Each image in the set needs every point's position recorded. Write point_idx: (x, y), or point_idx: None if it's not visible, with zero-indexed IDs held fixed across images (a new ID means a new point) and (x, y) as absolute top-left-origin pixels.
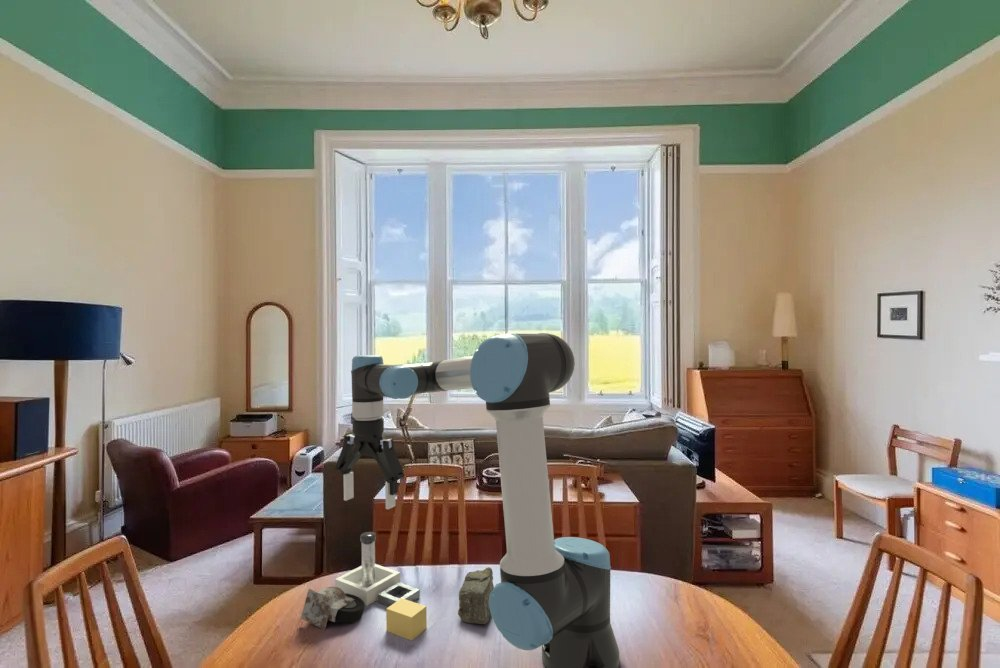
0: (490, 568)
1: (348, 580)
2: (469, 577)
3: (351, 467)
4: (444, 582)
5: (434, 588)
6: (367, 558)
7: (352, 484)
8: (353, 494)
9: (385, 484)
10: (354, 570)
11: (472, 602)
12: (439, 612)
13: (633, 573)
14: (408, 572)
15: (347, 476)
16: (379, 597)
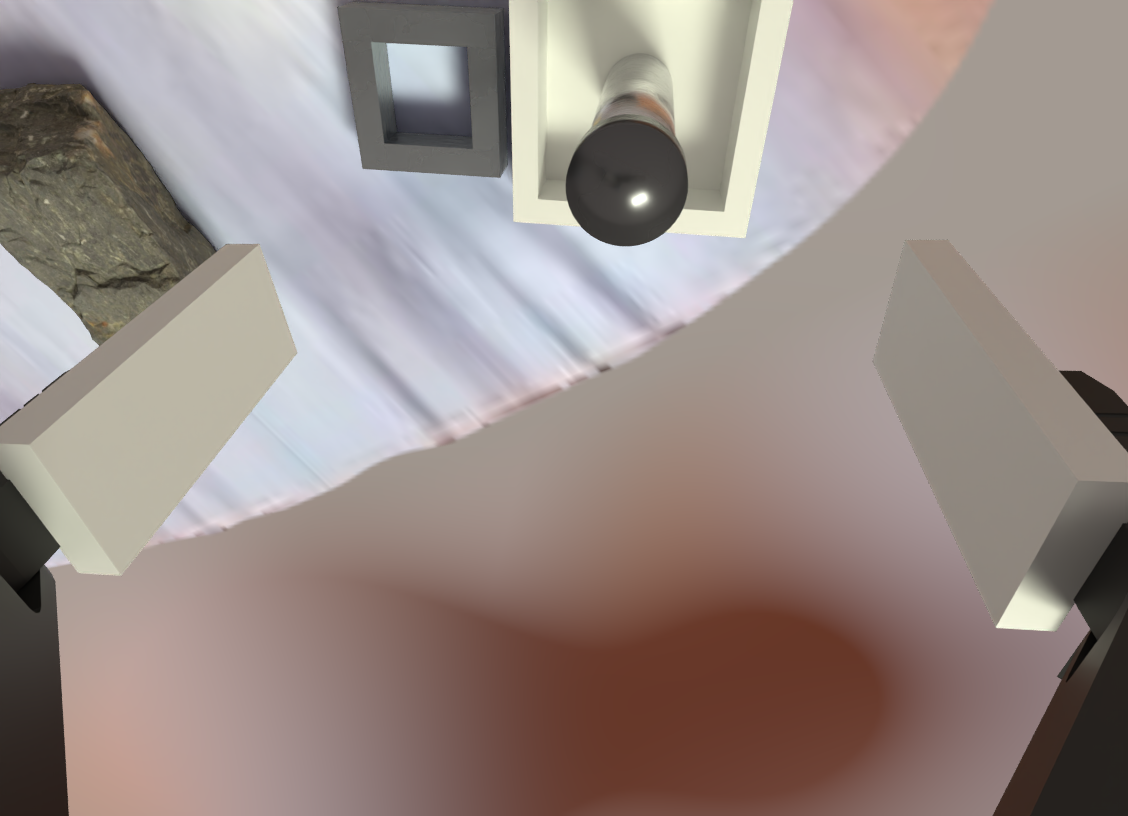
0: None
1: (750, 42)
2: (157, 286)
3: (1060, 697)
4: (394, 308)
5: (388, 252)
6: (607, 104)
7: (929, 455)
8: (884, 381)
9: (57, 416)
10: (756, 114)
11: (17, 142)
12: (214, 98)
13: None
14: (583, 310)
15: (1034, 486)
16: (485, 12)
